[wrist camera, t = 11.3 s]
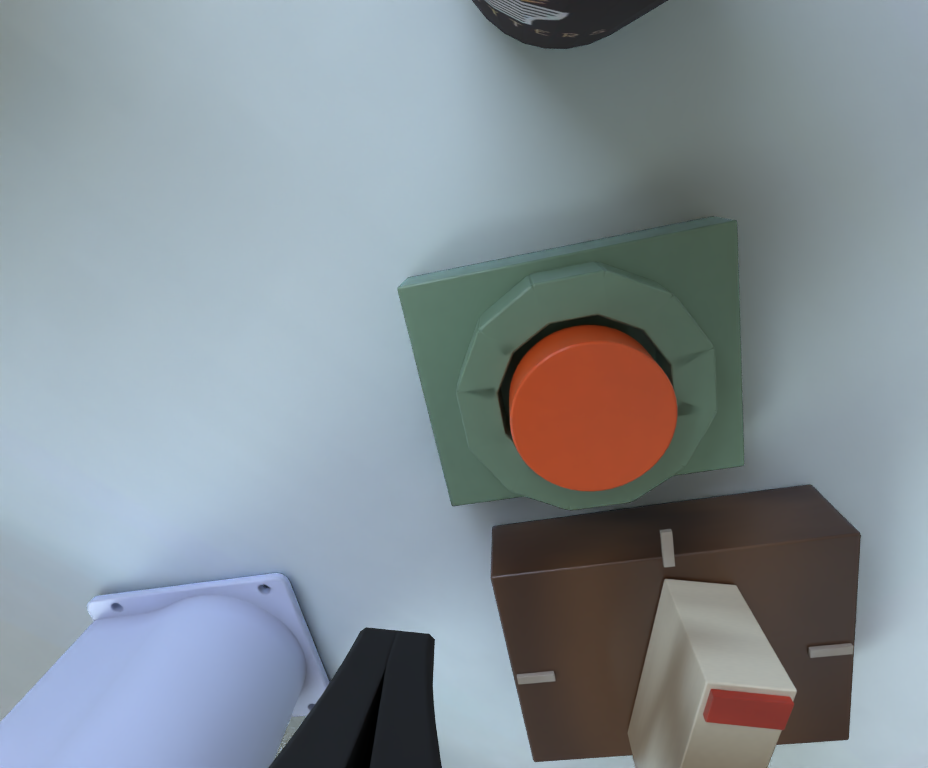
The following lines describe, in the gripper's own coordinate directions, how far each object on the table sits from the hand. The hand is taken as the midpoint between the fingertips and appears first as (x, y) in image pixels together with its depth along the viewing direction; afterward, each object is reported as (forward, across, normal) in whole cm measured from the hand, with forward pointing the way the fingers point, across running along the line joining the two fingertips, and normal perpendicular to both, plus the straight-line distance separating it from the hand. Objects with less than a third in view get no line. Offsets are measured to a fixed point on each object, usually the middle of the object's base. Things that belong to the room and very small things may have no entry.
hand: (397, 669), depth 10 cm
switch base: (+10, -9, +7) cm, 15 cm away
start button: (+7, -4, -3) cm, 9 cm away
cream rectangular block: (+7, -9, +7) cm, 14 cm away
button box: (+10, -4, -3) cm, 12 cm away
